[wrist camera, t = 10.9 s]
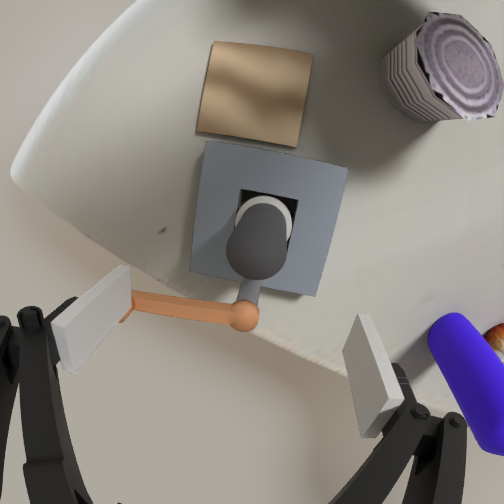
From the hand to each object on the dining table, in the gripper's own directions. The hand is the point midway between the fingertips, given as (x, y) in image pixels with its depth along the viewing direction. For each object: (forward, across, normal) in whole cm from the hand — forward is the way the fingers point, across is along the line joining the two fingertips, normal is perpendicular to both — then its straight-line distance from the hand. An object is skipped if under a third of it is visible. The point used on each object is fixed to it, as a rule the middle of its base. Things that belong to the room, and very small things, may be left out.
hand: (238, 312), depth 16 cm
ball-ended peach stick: (+9, -5, -6) cm, 12 cm away
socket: (+22, 0, 0) cm, 22 cm away
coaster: (+22, -4, +15) cm, 27 cm away
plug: (+22, 0, 0) cm, 22 cm away
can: (+22, +16, +22) cm, 35 cm away
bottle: (+22, +33, -12) cm, 42 cm away
